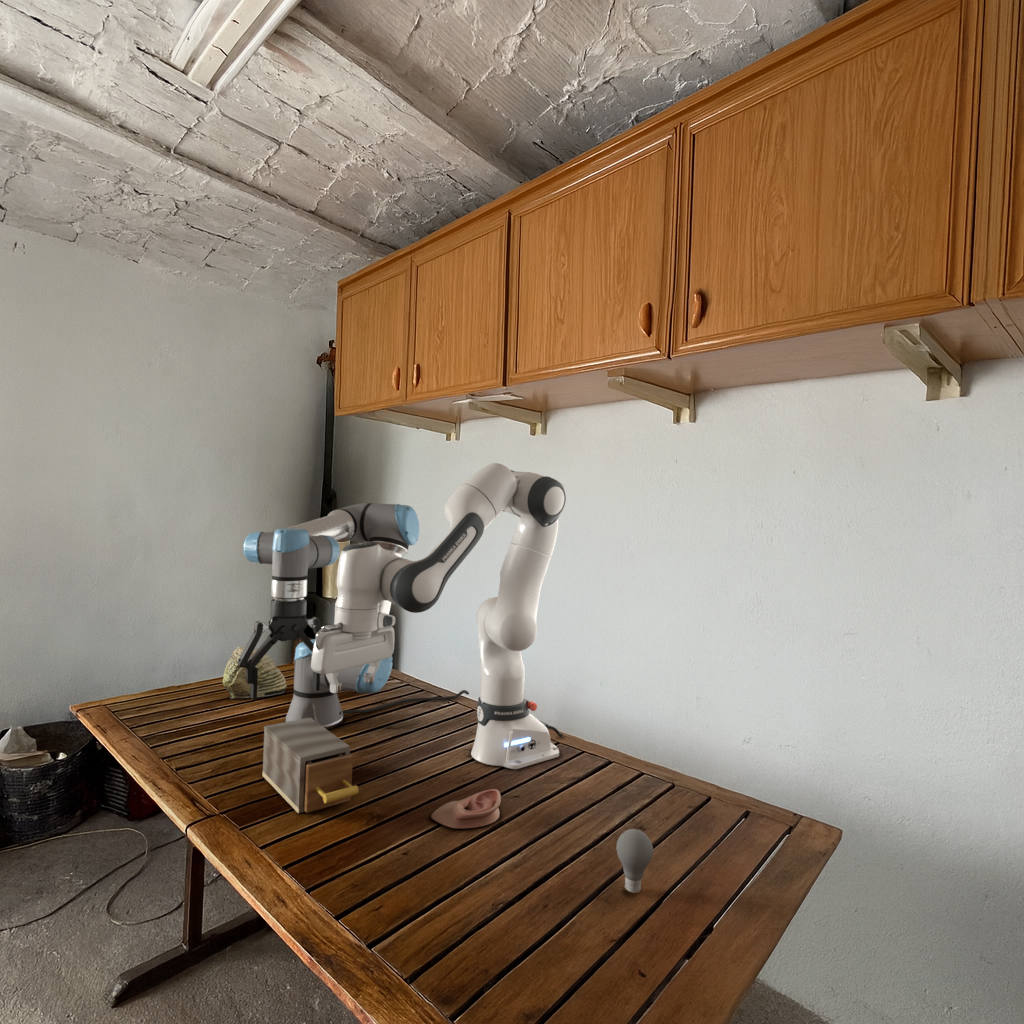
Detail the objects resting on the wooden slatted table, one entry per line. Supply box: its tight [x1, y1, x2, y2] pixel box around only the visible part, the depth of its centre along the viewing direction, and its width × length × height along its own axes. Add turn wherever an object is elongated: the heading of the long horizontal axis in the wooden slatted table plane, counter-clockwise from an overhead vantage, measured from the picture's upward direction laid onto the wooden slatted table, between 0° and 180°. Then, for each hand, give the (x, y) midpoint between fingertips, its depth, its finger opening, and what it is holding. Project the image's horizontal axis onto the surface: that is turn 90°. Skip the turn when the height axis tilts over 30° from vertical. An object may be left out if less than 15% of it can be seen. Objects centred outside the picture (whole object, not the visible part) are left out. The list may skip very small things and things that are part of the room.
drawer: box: [304, 753, 360, 814], centre depth 133 cm, size 25×9×9 cm, turn 40°
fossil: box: [222, 646, 288, 699], centre depth 198 cm, size 9×18×15 cm, turn 132°
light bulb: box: [615, 828, 654, 894], centre depth 106 cm, size 6×6×10 cm
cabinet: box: [261, 717, 351, 814], centre depth 138 cm, size 21×11×11 cm, turn 40°
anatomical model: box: [430, 788, 502, 830], centre depth 128 cm, size 13×4×12 cm
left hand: (285, 693), depth 141 cm, fingers open, 13 cm apart
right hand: (352, 687), depth 131 cm, fingers open, 8 cm apart
